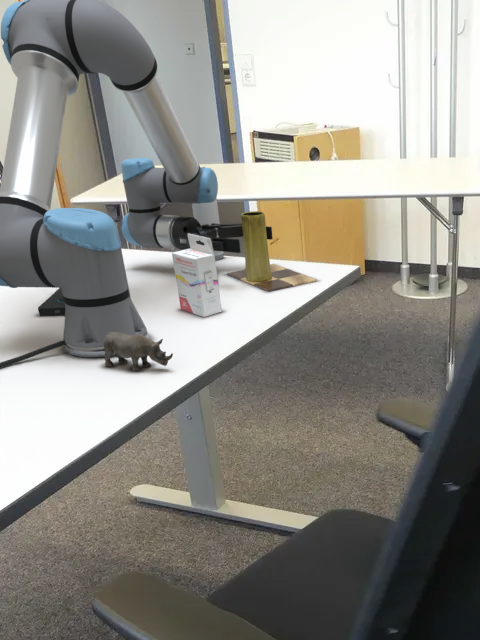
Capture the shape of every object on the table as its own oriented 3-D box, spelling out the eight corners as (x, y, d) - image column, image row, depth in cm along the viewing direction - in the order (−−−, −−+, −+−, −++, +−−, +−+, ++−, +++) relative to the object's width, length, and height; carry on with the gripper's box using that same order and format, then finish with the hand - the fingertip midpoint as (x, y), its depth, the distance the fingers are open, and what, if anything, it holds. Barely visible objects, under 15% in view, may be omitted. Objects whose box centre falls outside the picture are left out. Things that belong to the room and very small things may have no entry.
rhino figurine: (168, 376, 129) (162, 341, 125) (101, 367, 133) (93, 334, 130) (181, 367, 132) (175, 333, 128) (115, 359, 136) (108, 326, 133)
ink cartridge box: (179, 310, 160) (167, 236, 152) (198, 304, 163) (187, 232, 155) (204, 317, 155) (193, 242, 147) (223, 311, 158) (213, 237, 150)
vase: (274, 275, 180) (268, 210, 172) (269, 282, 175) (263, 216, 167) (249, 275, 180) (242, 210, 172) (243, 282, 175) (236, 216, 167)
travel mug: (223, 260, 195) (212, 175, 183) (197, 261, 195) (185, 176, 184) (226, 254, 200) (216, 171, 189) (202, 255, 200) (190, 172, 189)
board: (268, 291, 170) (268, 290, 169) (227, 274, 183) (227, 273, 183) (316, 281, 176) (316, 279, 176) (273, 265, 189) (273, 263, 189)
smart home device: (35, 308, 158) (64, 282, 175) (37, 316, 159) (66, 289, 176) (75, 306, 158) (100, 280, 175) (77, 314, 159) (102, 288, 176)
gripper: (213, 238, 192) (285, 244, 184) (149, 261, 173) (226, 269, 165) (208, 206, 188) (282, 211, 180) (143, 227, 169) (221, 233, 161)
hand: (255, 239), depth 172 cm, fingers open, 13 cm apart
